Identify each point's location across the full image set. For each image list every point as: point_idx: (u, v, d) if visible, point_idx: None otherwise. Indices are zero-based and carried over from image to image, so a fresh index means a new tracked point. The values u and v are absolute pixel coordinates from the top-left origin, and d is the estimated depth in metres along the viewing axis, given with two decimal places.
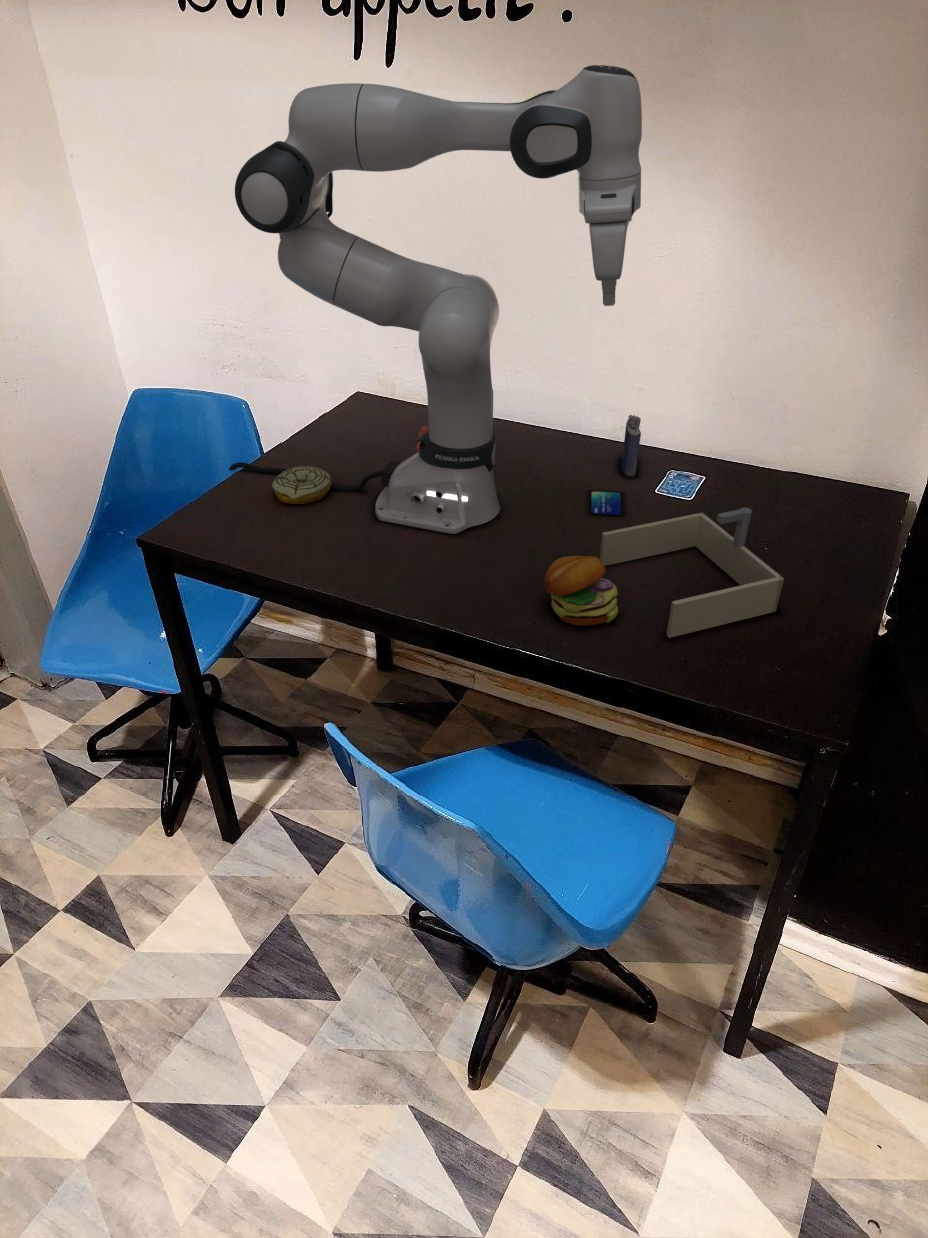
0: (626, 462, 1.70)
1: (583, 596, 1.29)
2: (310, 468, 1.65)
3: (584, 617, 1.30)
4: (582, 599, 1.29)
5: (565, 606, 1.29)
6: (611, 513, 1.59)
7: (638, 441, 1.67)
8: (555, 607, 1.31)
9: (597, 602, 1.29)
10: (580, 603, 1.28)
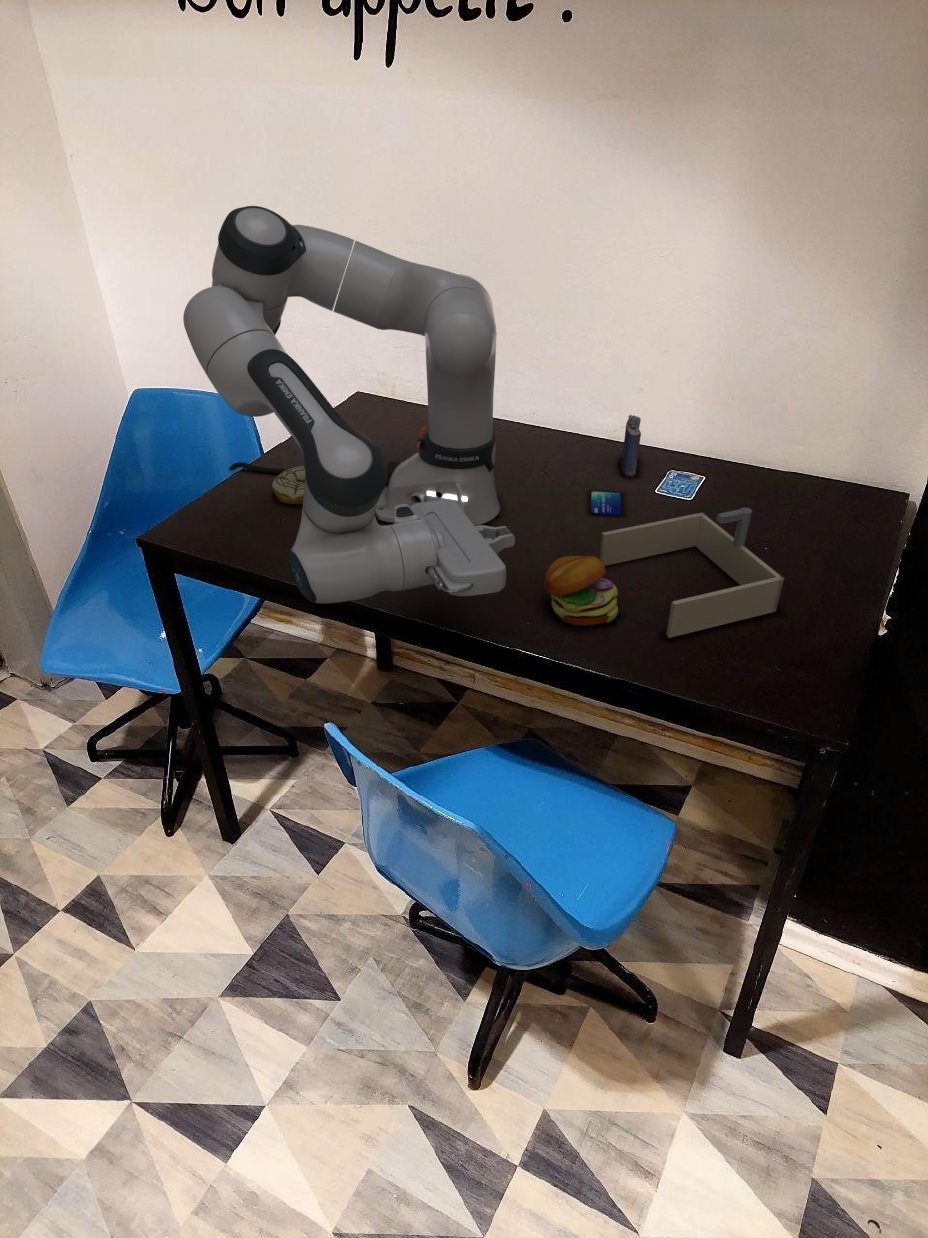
0: (626, 462, 1.70)
1: (583, 596, 1.29)
2: None
3: (584, 617, 1.30)
4: (582, 599, 1.29)
5: (565, 606, 1.29)
6: (611, 513, 1.59)
7: (638, 441, 1.67)
8: (555, 607, 1.31)
9: (597, 602, 1.29)
10: (580, 603, 1.28)
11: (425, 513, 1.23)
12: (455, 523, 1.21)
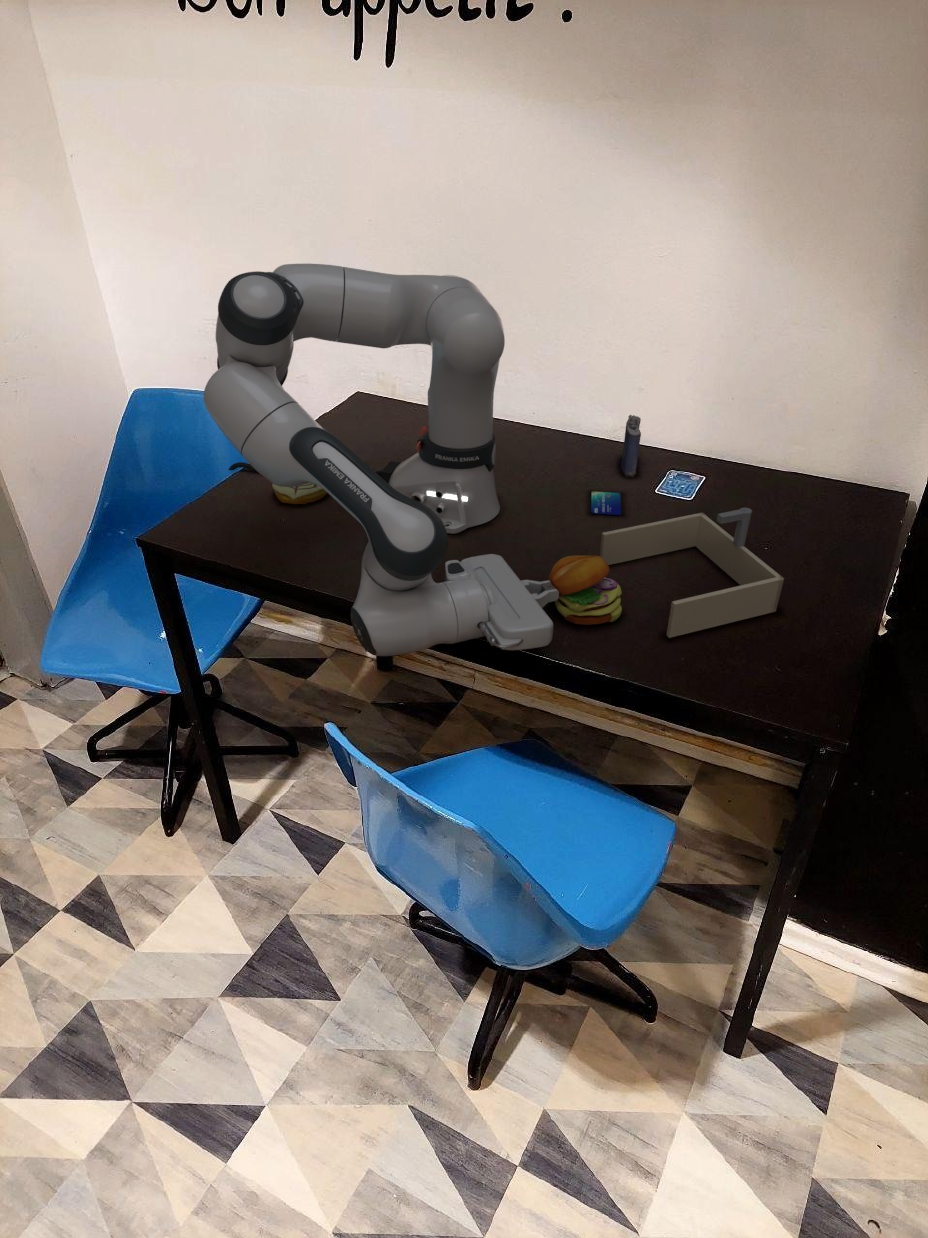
0: (626, 462, 1.70)
1: (587, 595, 1.30)
2: None
3: (588, 616, 1.30)
4: (586, 598, 1.29)
5: (569, 605, 1.29)
6: (611, 513, 1.59)
7: (638, 441, 1.67)
8: (559, 606, 1.31)
9: (601, 601, 1.29)
10: (583, 603, 1.28)
11: (474, 568, 1.31)
12: (503, 579, 1.29)
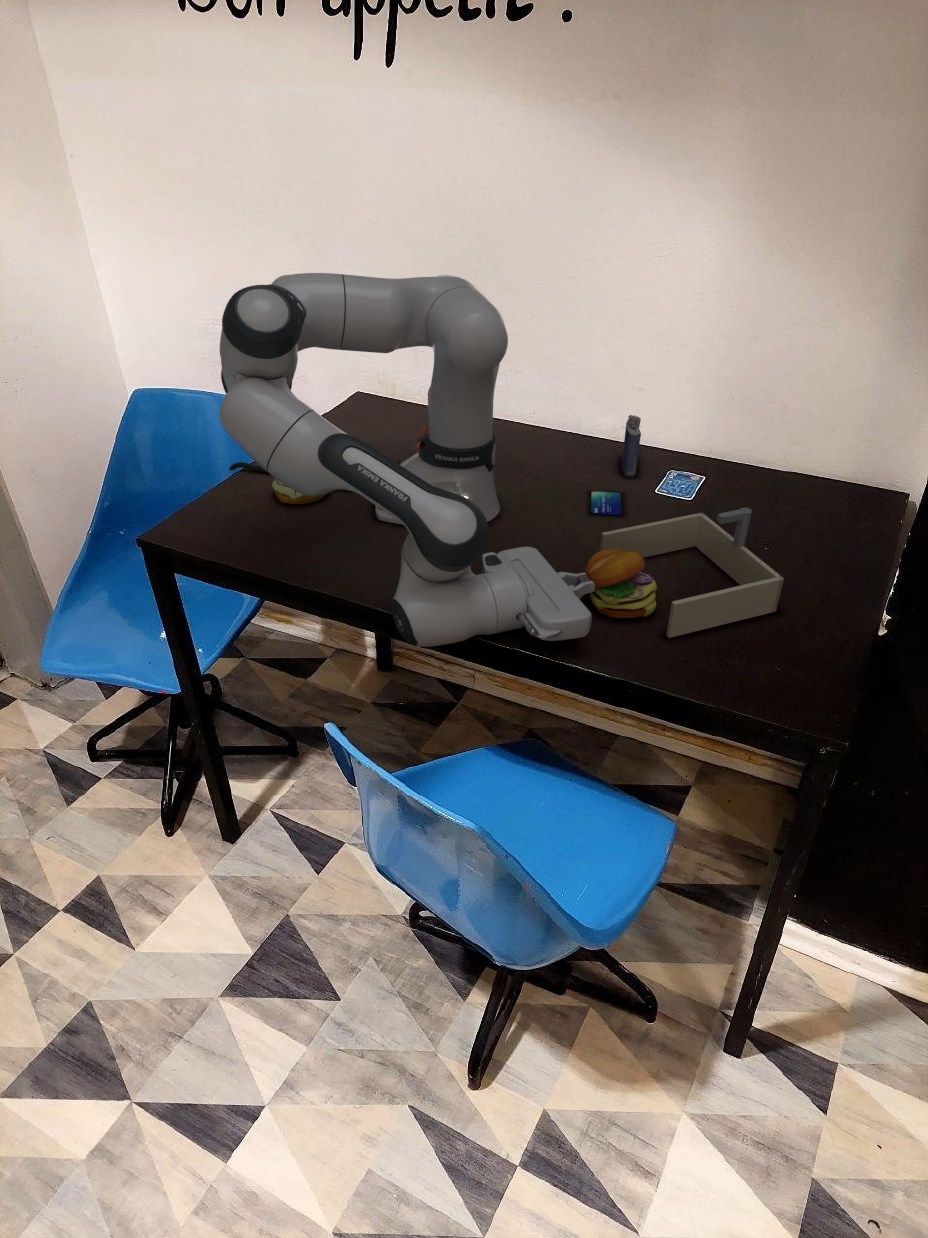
0: (626, 462, 1.70)
1: (621, 589, 1.31)
2: None
3: (622, 610, 1.31)
4: (620, 592, 1.31)
5: (603, 598, 1.31)
6: (611, 513, 1.59)
7: (638, 441, 1.67)
8: (593, 599, 1.33)
9: (635, 595, 1.30)
10: (618, 596, 1.30)
11: (510, 560, 1.33)
12: (540, 571, 1.31)
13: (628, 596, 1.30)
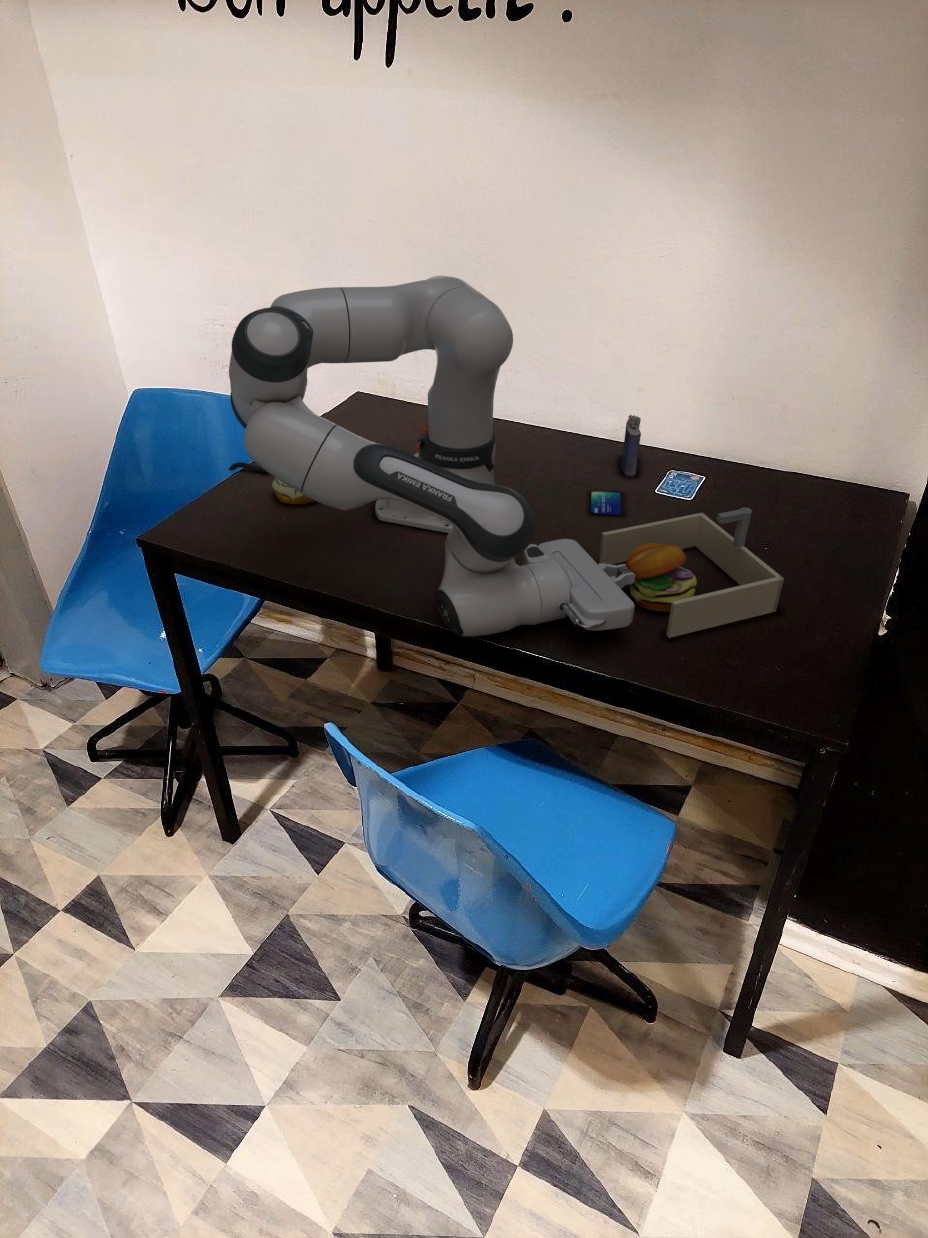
0: (626, 462, 1.70)
1: (660, 582, 1.32)
2: None
3: (659, 603, 1.33)
4: (658, 585, 1.32)
5: (641, 590, 1.33)
6: (611, 513, 1.59)
7: (638, 441, 1.67)
8: (632, 590, 1.35)
9: (673, 589, 1.32)
10: (655, 589, 1.31)
11: (551, 552, 1.35)
12: (581, 562, 1.33)
13: (666, 590, 1.32)
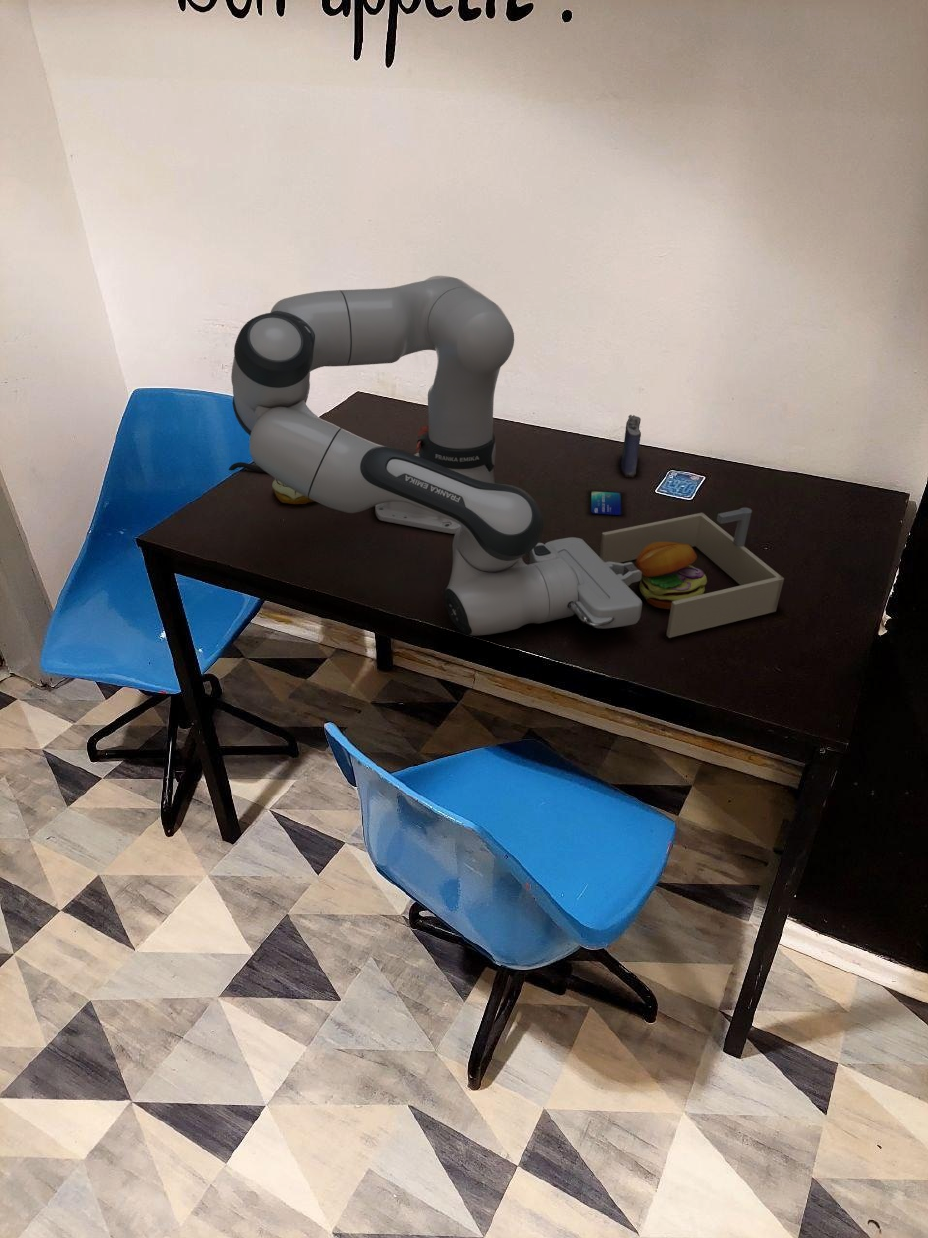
0: (626, 462, 1.70)
1: (669, 580, 1.33)
2: None
3: (667, 601, 1.33)
4: (668, 583, 1.32)
5: (650, 588, 1.33)
6: (611, 513, 1.59)
7: (638, 441, 1.67)
8: (642, 588, 1.35)
9: (682, 588, 1.32)
10: (664, 587, 1.32)
11: (558, 551, 1.36)
12: (588, 560, 1.33)
13: (675, 588, 1.32)
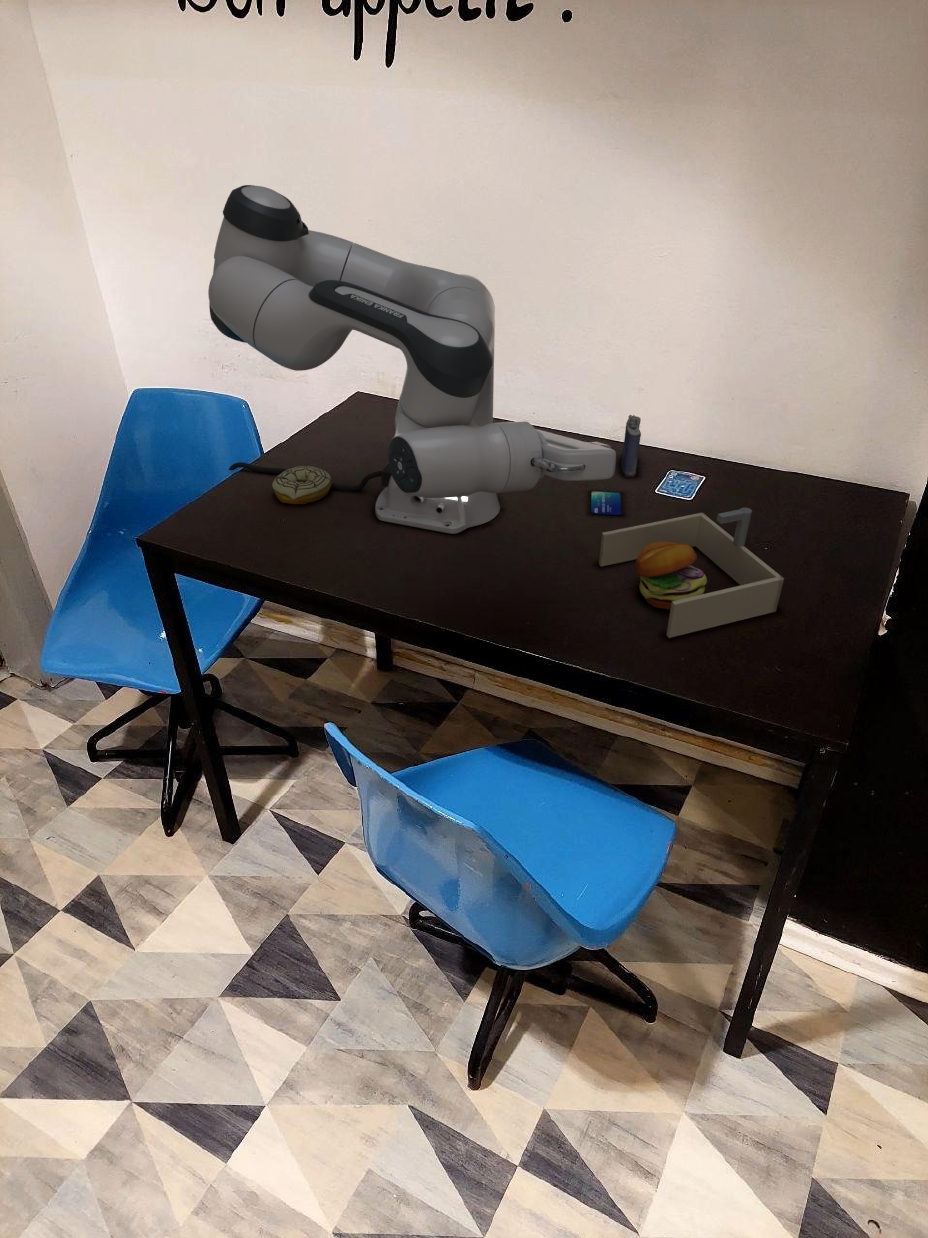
0: (626, 462, 1.70)
1: (669, 580, 1.33)
2: (310, 468, 1.65)
3: (667, 601, 1.33)
4: (668, 583, 1.32)
5: (650, 588, 1.33)
6: (611, 513, 1.59)
7: (638, 441, 1.67)
8: (642, 588, 1.35)
9: (682, 588, 1.32)
10: (664, 587, 1.32)
11: None
12: (549, 436, 1.18)
13: (675, 588, 1.32)
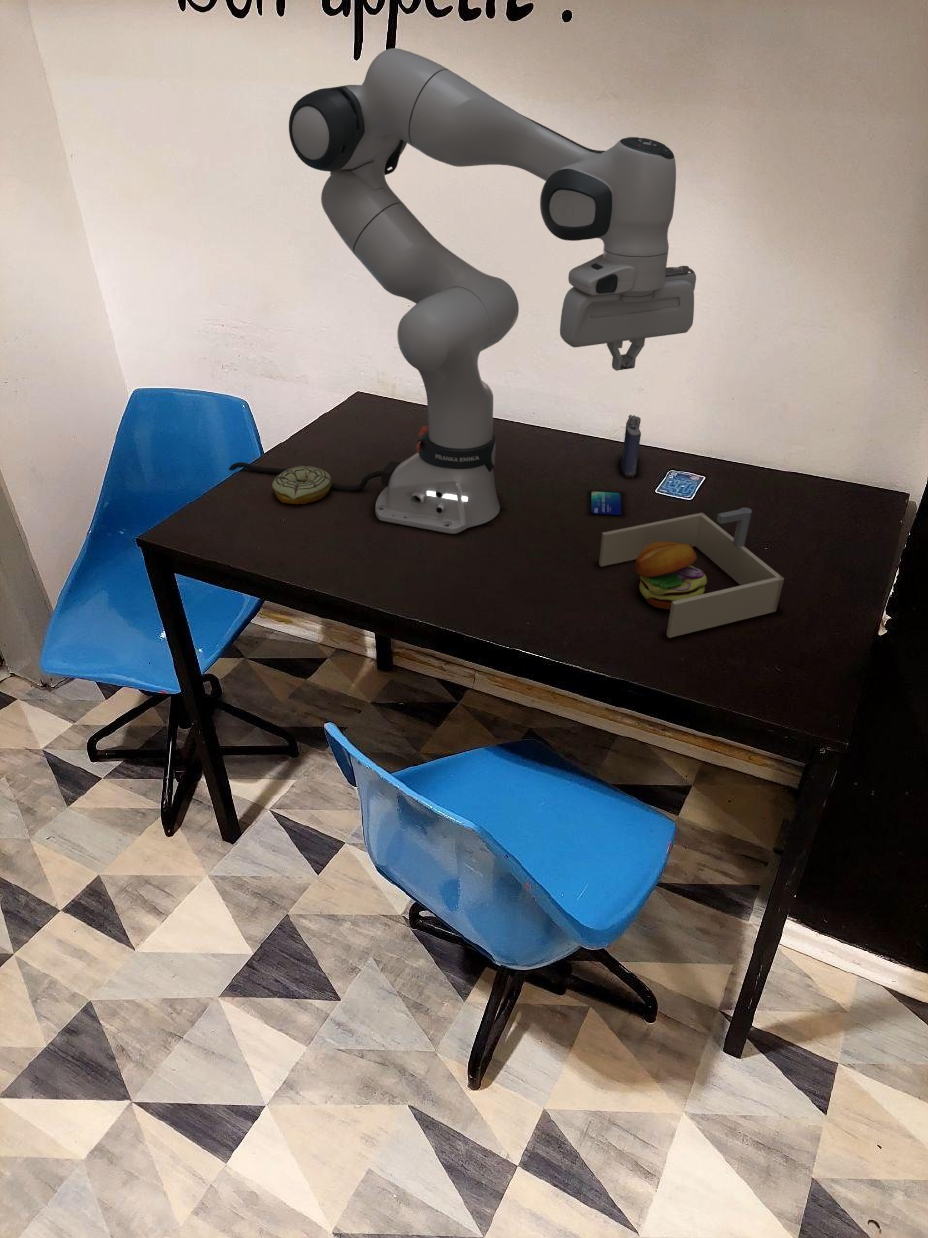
0: (626, 462, 1.70)
1: (669, 580, 1.33)
2: (310, 468, 1.65)
3: (667, 601, 1.33)
4: (668, 583, 1.32)
5: (650, 588, 1.33)
6: (611, 513, 1.59)
7: (638, 441, 1.67)
8: (642, 588, 1.35)
9: (682, 588, 1.32)
10: (664, 587, 1.32)
11: None
12: None
13: (675, 588, 1.32)
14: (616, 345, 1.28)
